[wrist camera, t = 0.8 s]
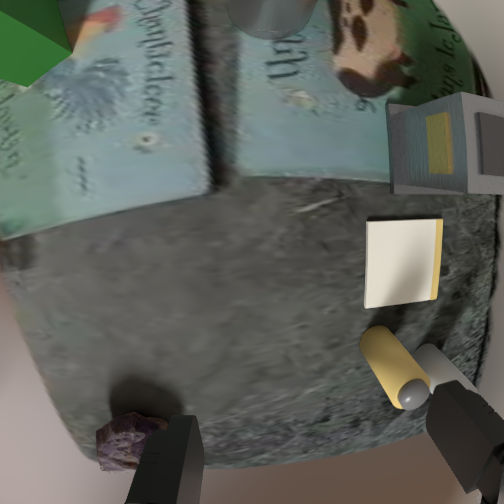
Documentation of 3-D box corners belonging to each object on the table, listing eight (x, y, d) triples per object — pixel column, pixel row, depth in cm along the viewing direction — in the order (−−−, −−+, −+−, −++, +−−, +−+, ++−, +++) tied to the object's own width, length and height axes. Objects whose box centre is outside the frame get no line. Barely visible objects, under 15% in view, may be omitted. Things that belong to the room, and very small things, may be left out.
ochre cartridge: (360, 327, 37) (399, 384, 25) (393, 323, 37) (439, 374, 25) (357, 358, 38) (391, 418, 26) (389, 353, 38) (429, 408, 26)
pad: (366, 221, 34) (368, 222, 33) (440, 218, 34) (442, 219, 33) (363, 306, 36) (365, 308, 36) (434, 297, 36) (436, 298, 36)
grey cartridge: (413, 346, 38) (457, 397, 26) (439, 340, 38) (486, 387, 26) (408, 373, 39) (447, 426, 27) (433, 367, 39) (475, 416, 27)
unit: (385, 105, 31) (452, 76, 18) (454, 113, 31) (529, 99, 18) (390, 193, 33) (461, 206, 20) (458, 193, 33) (535, 207, 20)
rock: (183, 433, 42) (145, 385, 40) (184, 473, 34) (138, 425, 31) (122, 453, 41) (83, 410, 39) (116, 491, 33) (68, 447, 31)
